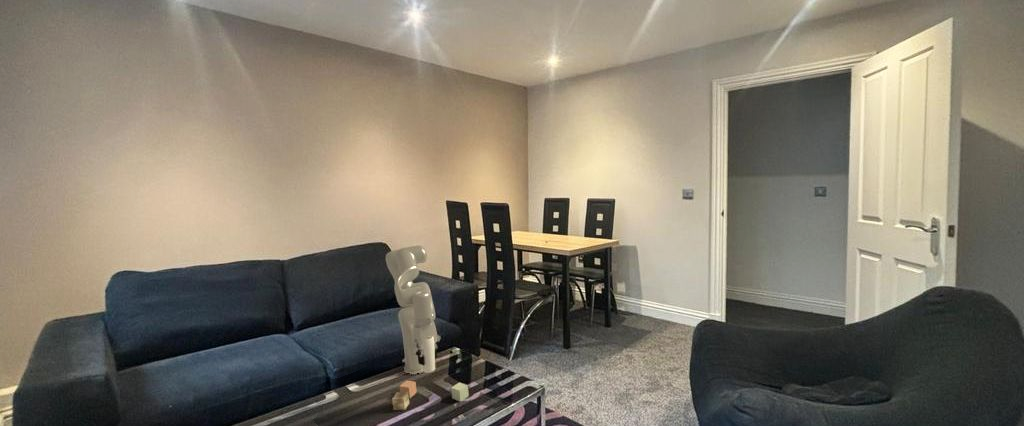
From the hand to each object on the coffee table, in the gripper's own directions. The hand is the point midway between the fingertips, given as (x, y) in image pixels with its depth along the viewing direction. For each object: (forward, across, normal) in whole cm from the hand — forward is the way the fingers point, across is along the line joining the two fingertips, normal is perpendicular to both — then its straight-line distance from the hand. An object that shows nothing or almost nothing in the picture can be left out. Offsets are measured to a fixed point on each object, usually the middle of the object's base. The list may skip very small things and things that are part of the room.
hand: (428, 360), depth 192 cm
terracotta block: (+17, +3, -12) cm, 21 cm away
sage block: (+17, -7, +10) cm, 21 cm away
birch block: (+17, +11, -7) cm, 22 cm away
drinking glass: (+5, 0, 0) cm, 5 cm away
